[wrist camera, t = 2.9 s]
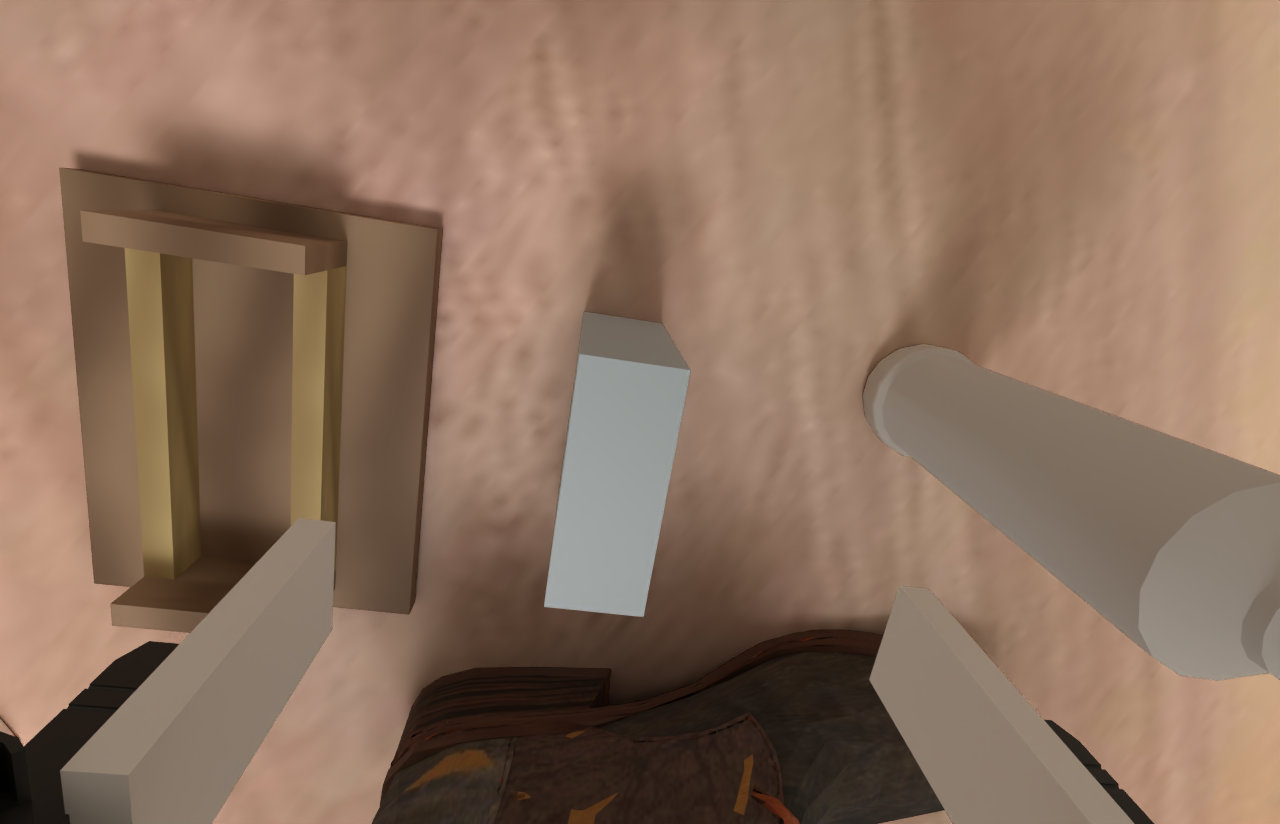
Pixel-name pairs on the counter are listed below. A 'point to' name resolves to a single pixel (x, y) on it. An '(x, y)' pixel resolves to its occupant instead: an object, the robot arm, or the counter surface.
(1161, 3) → the counter surface
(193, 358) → the track sill
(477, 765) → the ankle boot
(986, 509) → the bottle
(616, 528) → the light gray rectangular block
